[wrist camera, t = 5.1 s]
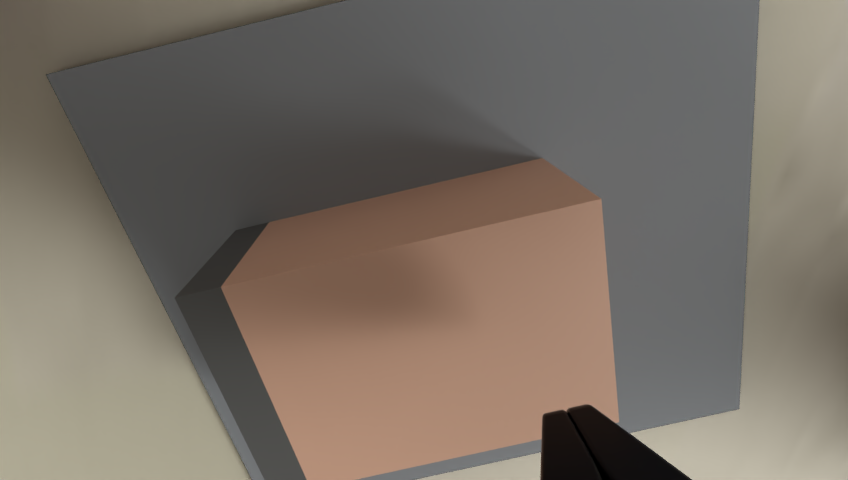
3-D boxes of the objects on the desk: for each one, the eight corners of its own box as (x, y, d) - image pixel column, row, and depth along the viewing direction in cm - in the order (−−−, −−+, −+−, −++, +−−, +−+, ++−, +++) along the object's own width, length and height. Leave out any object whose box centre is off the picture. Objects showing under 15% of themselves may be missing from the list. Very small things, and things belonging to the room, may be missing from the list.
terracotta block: (601, 198, 9) (174, 297, 10) (619, 422, 12) (273, 497, 12) (542, 157, 13) (235, 230, 13) (564, 333, 15) (302, 391, 16)
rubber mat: (752, -98, 11) (764, -104, 11) (732, 401, 17) (739, 409, 17) (56, 73, 12) (46, 74, 11) (270, 501, 18) (268, 511, 17)
